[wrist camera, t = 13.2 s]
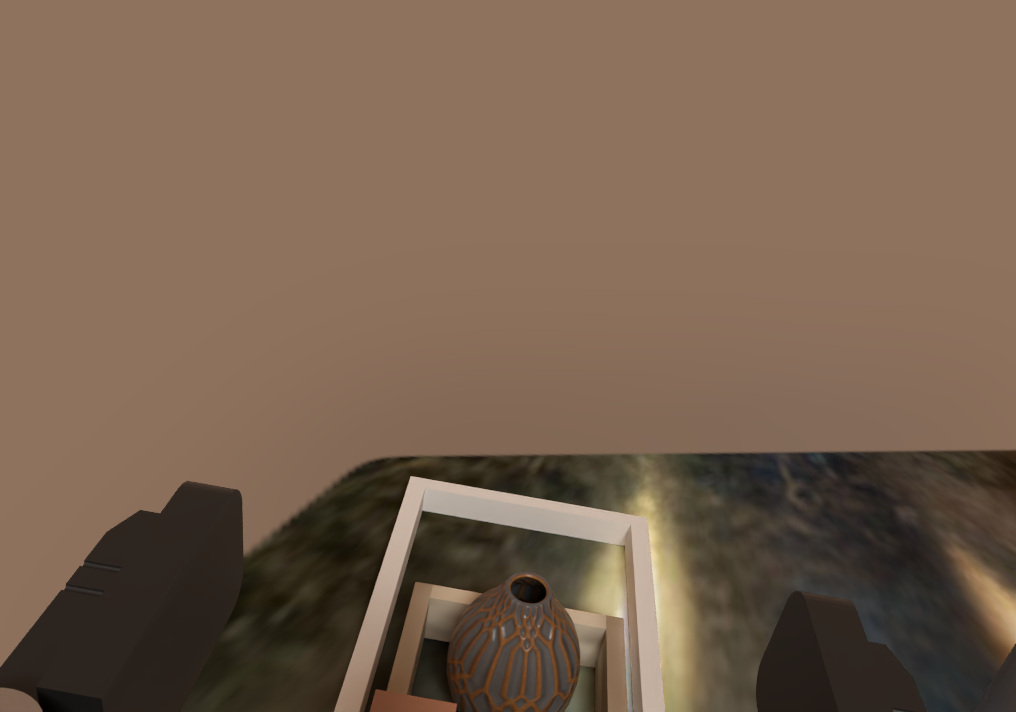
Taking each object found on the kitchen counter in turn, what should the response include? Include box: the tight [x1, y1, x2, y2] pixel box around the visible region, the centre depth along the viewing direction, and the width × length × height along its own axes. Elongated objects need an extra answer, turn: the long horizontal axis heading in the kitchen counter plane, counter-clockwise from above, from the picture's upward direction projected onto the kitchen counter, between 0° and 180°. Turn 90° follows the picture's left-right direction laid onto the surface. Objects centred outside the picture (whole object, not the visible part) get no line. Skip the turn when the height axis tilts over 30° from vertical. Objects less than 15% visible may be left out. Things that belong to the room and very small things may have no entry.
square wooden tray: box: [370, 582, 628, 712], centre depth 38 cm, size 12×18×12 cm
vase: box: [447, 572, 580, 712], centre depth 42 cm, size 7×7×9 cm
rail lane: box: [334, 476, 665, 712], centre depth 48 cm, size 17×22×2 cm
